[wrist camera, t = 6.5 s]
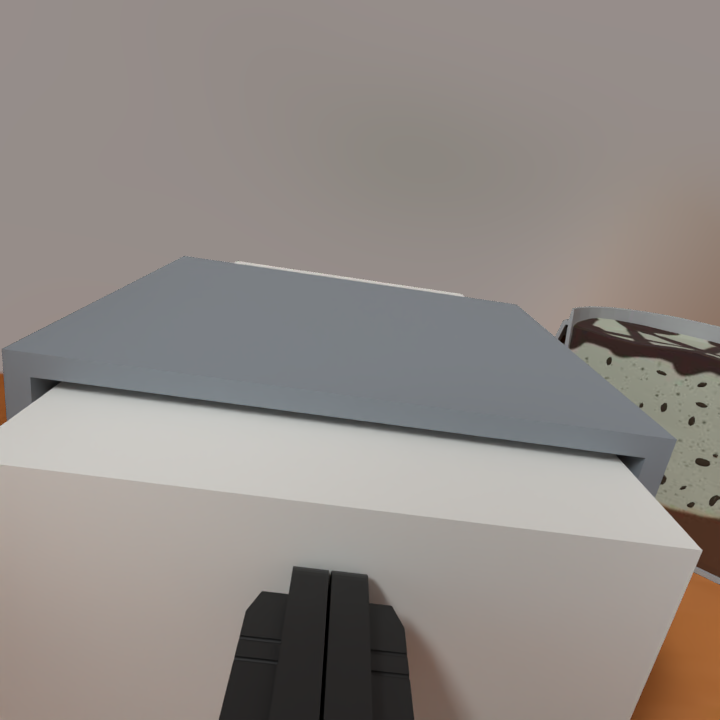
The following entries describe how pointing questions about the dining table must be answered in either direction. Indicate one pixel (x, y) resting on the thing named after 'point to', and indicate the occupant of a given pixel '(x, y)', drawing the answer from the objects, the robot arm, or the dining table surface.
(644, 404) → the food container
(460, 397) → the sleeve
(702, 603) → the dining table surface
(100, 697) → the white cuboid
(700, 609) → the dining table surface
